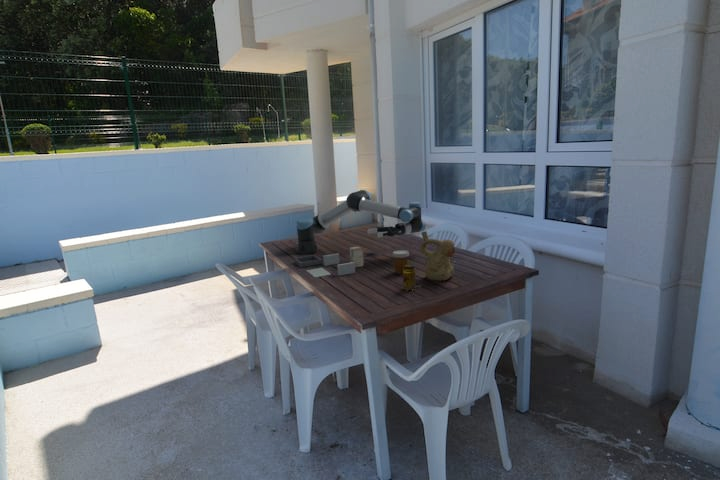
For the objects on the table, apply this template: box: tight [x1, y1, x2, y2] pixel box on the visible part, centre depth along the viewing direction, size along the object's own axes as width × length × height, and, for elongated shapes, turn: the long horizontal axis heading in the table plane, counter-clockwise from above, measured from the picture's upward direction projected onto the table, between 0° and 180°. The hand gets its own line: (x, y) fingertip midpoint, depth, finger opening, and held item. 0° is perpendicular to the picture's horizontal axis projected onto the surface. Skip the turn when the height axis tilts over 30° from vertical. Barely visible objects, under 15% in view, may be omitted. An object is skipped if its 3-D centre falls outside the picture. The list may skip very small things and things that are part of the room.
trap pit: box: [294, 254, 324, 269], centre depth 272 cm, size 14×14×3 cm
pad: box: [305, 267, 332, 278], centre depth 252 cm, size 16×10×1 cm, turn 25°
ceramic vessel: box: [420, 230, 457, 282], centre depth 228 cm, size 17×20×25 cm
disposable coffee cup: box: [392, 249, 410, 275], centre depth 242 cm, size 10×10×12 cm
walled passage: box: [322, 252, 356, 276], centre depth 257 cm, size 26×10×6 cm, turn 25°
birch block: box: [349, 246, 365, 268], centre depth 261 cm, size 6×6×11 cm
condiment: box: [402, 264, 422, 292], centre depth 216 cm, size 7×8×12 cm
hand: (372, 233), depth 262 cm, fingers open, 13 cm apart
